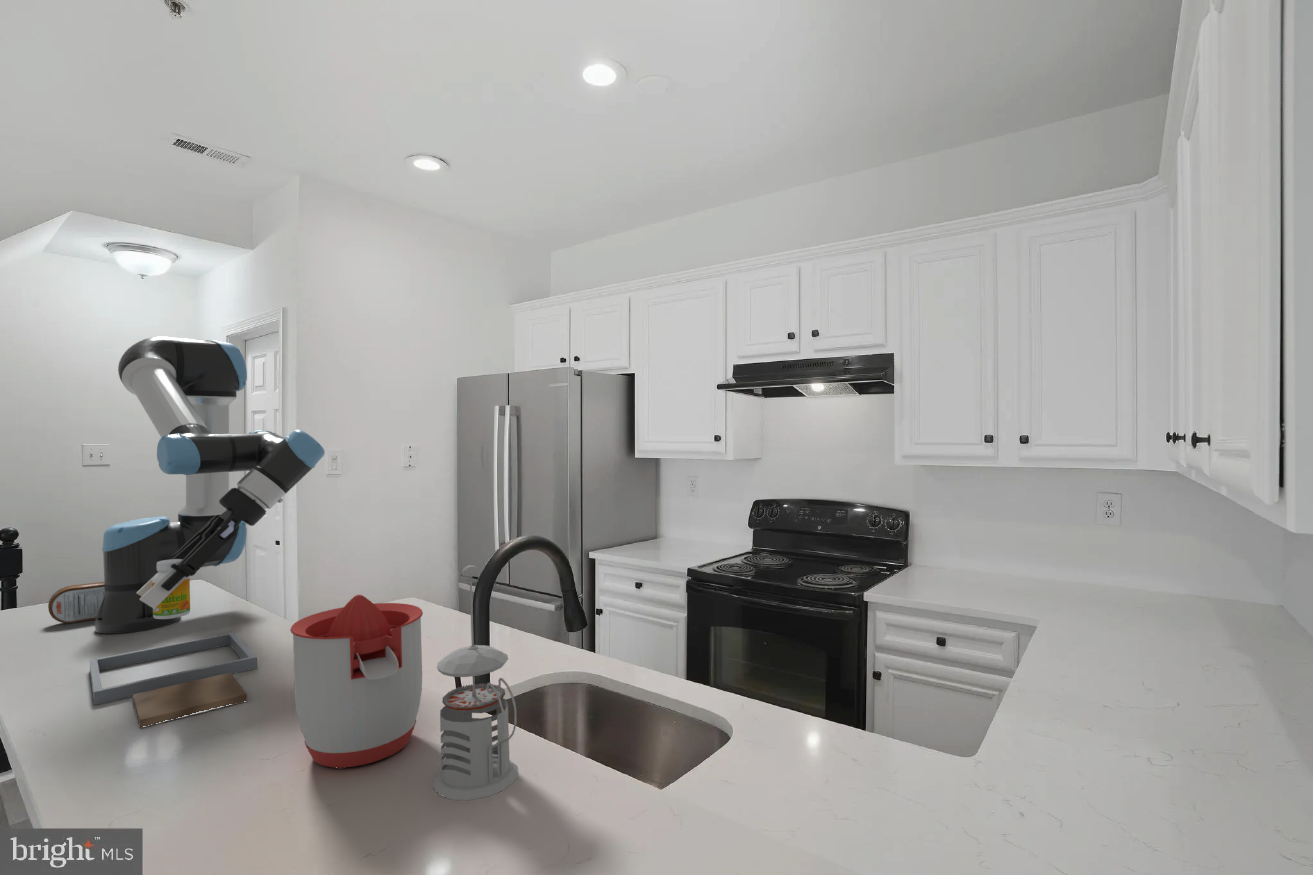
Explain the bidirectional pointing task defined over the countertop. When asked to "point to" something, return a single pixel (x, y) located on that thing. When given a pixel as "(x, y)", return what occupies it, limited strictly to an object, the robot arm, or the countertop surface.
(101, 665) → the tray frame
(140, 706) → the walnut board
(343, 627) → the citrus juicer
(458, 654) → the french press
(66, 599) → the tin
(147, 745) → the countertop surface
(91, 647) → the countertop surface
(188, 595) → the supplement bottle
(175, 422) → the robot arm
